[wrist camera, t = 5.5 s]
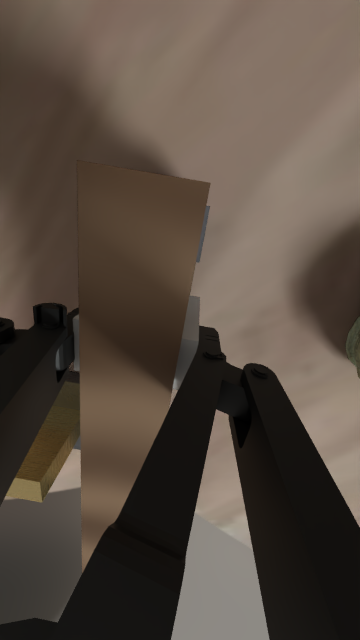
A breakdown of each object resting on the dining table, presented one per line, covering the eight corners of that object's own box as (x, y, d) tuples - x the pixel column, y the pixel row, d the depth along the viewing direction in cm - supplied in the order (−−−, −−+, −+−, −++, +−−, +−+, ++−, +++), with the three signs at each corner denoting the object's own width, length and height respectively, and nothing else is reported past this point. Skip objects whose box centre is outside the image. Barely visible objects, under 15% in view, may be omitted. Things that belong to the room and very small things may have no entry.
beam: (120, 182, 11) (77, 159, 7) (207, 197, 10) (210, 182, 7) (103, 514, 21) (82, 577, 17) (147, 522, 21) (135, 588, 17)
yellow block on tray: (-40, 351, 23) (-160, 414, 16) (105, 377, 23) (58, 454, 15) (-24, 418, 27) (-116, 497, 19) (102, 441, 27) (62, 530, 19)
